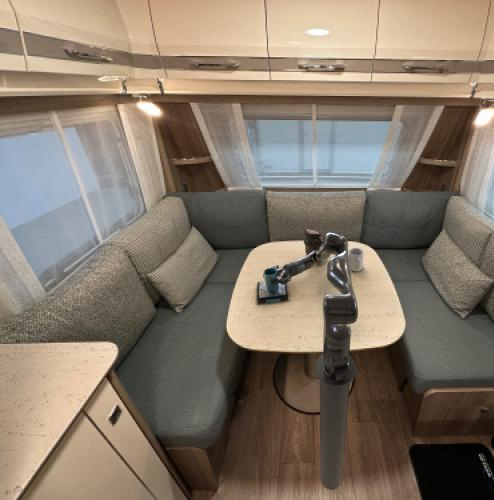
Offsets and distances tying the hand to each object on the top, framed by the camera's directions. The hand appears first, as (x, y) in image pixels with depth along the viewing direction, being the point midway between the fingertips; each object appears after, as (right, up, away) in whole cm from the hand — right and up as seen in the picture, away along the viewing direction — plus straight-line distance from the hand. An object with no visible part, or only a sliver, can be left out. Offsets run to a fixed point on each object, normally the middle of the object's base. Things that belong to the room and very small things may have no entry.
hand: (267, 279), depth 132 cm
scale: (+2, -7, +6) cm, 9 cm away
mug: (+48, +4, +24) cm, 53 cm away
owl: (+25, +9, +34) cm, 43 cm away
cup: (+2, -4, +4) cm, 6 cm away
